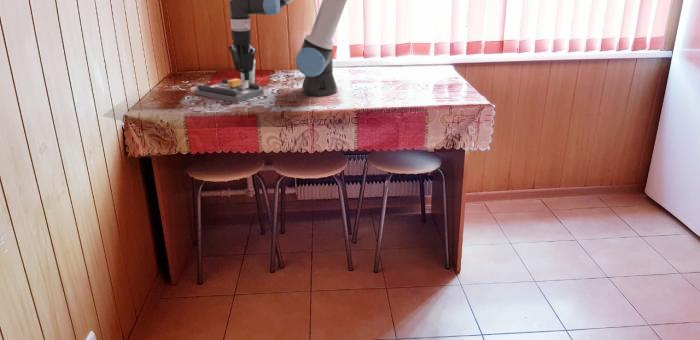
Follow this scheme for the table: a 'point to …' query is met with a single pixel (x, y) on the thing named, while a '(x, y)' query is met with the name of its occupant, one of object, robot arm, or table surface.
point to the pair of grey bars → (226, 92)
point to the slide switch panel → (241, 93)
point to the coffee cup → (252, 74)
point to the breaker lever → (234, 83)
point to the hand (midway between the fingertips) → (245, 87)
